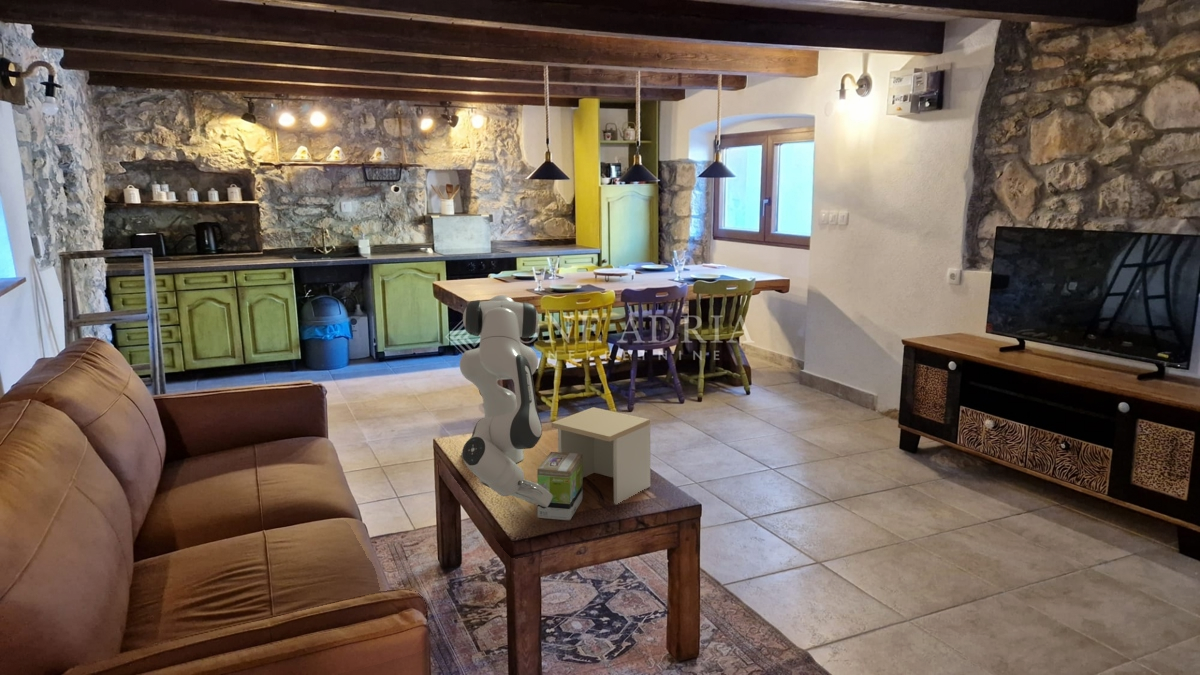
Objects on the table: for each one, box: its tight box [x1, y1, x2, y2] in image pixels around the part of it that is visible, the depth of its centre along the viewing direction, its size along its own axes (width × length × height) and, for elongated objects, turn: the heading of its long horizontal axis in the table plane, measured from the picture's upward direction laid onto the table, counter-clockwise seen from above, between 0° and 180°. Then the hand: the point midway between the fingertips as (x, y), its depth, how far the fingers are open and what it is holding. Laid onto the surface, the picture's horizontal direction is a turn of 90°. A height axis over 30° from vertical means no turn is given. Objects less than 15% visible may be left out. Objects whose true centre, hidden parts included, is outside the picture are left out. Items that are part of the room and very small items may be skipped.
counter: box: [551, 406, 651, 505], centre depth 231 cm, size 22×20×22 cm
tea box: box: [536, 451, 584, 521], centre depth 217 cm, size 15×10×15 cm, turn 168°
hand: (533, 501), depth 209 cm, fingers closed
